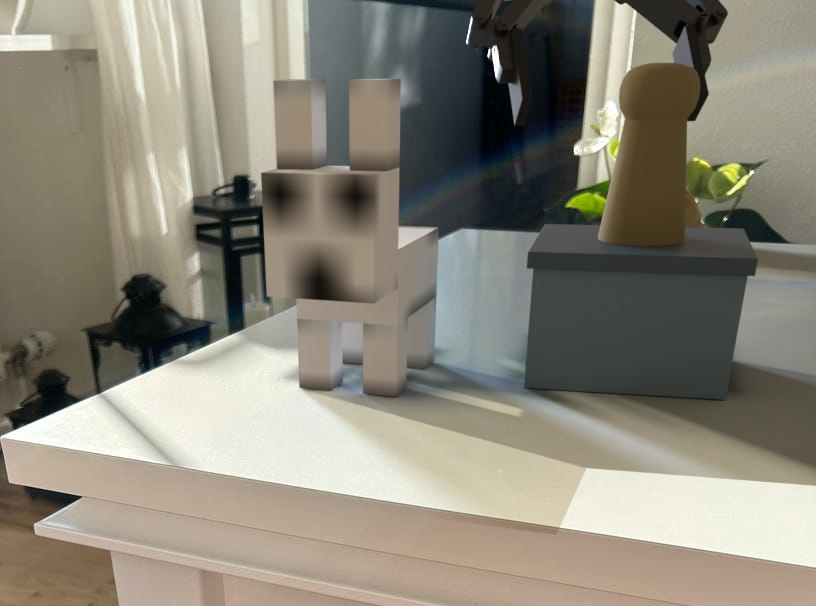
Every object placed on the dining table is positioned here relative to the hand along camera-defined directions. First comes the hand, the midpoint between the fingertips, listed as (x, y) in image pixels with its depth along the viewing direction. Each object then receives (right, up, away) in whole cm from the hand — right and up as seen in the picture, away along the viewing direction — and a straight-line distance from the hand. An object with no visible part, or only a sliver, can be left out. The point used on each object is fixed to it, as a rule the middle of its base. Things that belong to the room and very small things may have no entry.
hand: (610, 110), depth 78 cm
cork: (+1, -12, -5) cm, 13 cm away
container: (+1, -20, 0) cm, 20 cm away
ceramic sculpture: (+17, +5, +43) cm, 46 cm away
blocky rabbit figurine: (-19, -21, -1) cm, 28 cm away
